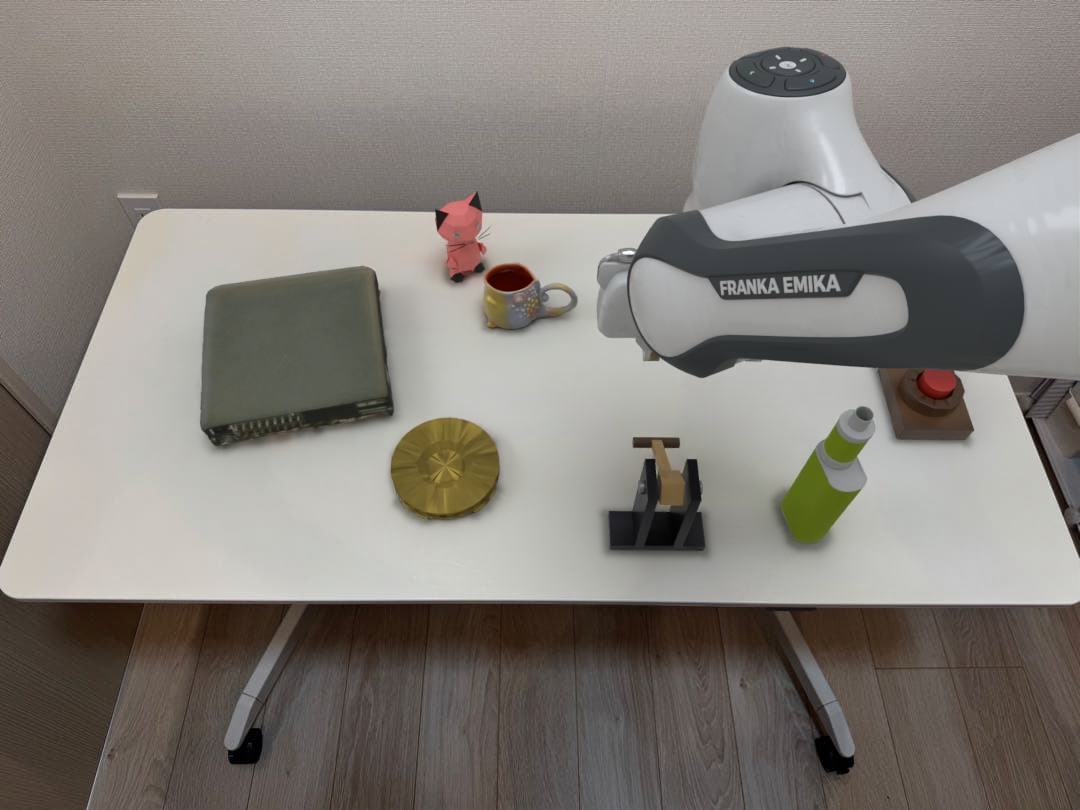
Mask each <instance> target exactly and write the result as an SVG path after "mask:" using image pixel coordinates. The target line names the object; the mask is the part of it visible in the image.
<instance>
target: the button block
mask: <svg viewBox="0 0 1080 810" xmlns="http://www.w3.org/2000/svg"><path fill="white" fill-rule="evenodd" d="M925 370H926V369H900V368H877V372H878V375H879V379H880V382H881V387H882V389H883V393H884V397H885V401H886V405H887V408H888V411H889V414H890V419H891V422H892V427H893V430H894V433H895V436H896V439H897V440H949V441H950V440H953V441H954V440H955V441H958V440H959V441H960V440H967V439H968V438H970V436H971V435H972V433H974V431H975V428H974V425H973V422H972V419H971V416H970V414H969V410H968V408H967V404H966V401H965V399H964V395H965V393H966V391H965V388H964V384H963V381H962V379H961V378H960V377H959V376H958V375H957V374H956V371H951V372H952V373H953V374H954V376H955V378H956V386H955V387H954V389H953V390H952V391H951V392H950V394H949V395H948V396H947V397H945V398H943V399H932V398H929V397H927V396H925V395H924V394H923V393H922V392H921V391H920V389H919V387H918V379H919V378H920V376H921V375H922V374H923V372H924V371H925Z"/></svg>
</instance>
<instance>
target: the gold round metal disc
mask: <svg viewBox="0 0 1080 810" xmlns="http://www.w3.org/2000/svg"><path fill="white" fill-rule="evenodd" d="M389 471H390V477H391V481H392V485H393V487H394V490H395V492H396V494H397V496H398V498H399V499H400V501H401V504H402V505H403V506H404V507H405V508H406V509H407V510H408V511H409V512H410V513H412V514H414V515H415V516H417V517H419V518H422V519H423V520H426V521H429V519H435V520H451V519H456V518H460V517H463V516H466V515H468V514H470V513H472V512H473V513H474V514H476V513H477V512H479V511H481V510H482V509H483V508H484V507H485V506H487V504H488V503H489V502H490V501H491V500H492V498H493V497H494V495H495V494H496V491H497V485H498V482H499V478H500V474H501V473H500V472H501V465H500V455H499V451H498V447H497V445H496V443H495V441H494V440H493V438H492V437H491V436H490V435H489V433H488V432H487V431H486V430H485V429H483V428H482V427H481V426H480V425H478V424H476V423H474V422H472V421H469V420H466V419H463V418H459V417H437V418H433V419H429V420H427V421H424V422H421V423H419V424H418V425H416V426H414V427H413V428H412V429H410V430H409V431H407V433H406V434H405V435H403V437H402V438H401V439H400V441H398V443H397V445H396V447H395V448H394V451H393V453H392V456H391V460H390V470H389Z"/></svg>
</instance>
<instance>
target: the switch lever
mask: <svg viewBox="0 0 1080 810" xmlns="http://www.w3.org/2000/svg"><path fill="white" fill-rule="evenodd" d="M631 441H632V446H631V447H632V448H633V449H651V453H652V455H653V458H655V462H656V470H657V471H656V474H657V486H658V498H659V500H658V503H659V506H671V505H681V506H682V505H683V500H684V489H685V482H684V480H683V477H682V471H681V470H680V469H672V465H671V463H670V460H669V457H668V455H667V450H666V449H680V448H681V439H680V437H679V436H678V437H677V436H675V437H674V436H673V437H672V436H671V437H670V436H666V437H665V436H632V440H631Z"/></svg>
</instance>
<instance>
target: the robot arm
mask: <svg viewBox="0 0 1080 810" xmlns="http://www.w3.org/2000/svg"><path fill="white" fill-rule="evenodd" d="M853 97H854V96H853V85H852V79H851V76H850V73H849V71H848V70H847V68H846V67H845V66H844V65H843V64H842V63H841V62H840V61H839V60H838V59H836V58H834V57H832V56H830V55H828V54H827V53H826V52H825V53H824V52H823V51H820V50H816V49H813V48H810V47H809V48H808V47H796V46H781V47H780V46H779V47H774V48H767V49H763V50H760V51H756V52H752V53H748V54H745V55H743V56H741V57H739V58H738V59H735V60H733V61H732V62H731V63H729V65H728V66H727V67H726V68H725V70H724V71H723V73H722V74H721V75H720V77H719V79H718V81H717V83H716V84H715V87H714V89H713V91H712V93H711V96H710V99H709V101H708V104H707V107H706V110H705V113H704V117H703V120H702V123H701V126H700V130H699V133H698V138H697V141H696V146H695V151H694V156H693V160H692V164H691V165H692V166H691V182H692V189H691V192H690V193H689V195H688V196H687V199H686V200H685V203H684V205H683V208H682V212H678V213H674V214H669V215H665V216H664V215H663V216H660V217H658V218H656V219H655V221H654V222H653V223H652V225H651V226H650V228H649V229H648V231H647V232H646V234H645V235H644V236H643V238H642V240H641V242H640V244H639V245H638V247H637V248H635V247H622V248H619V249H618V250H617V252H614V253H610V254H608V255H606V256H603V257H602V258H601V259H600V260H599V262H598V265H597V270H596V271H597V272H596V281H597V283H598V285H599V290H598V294H597V298H596V324H597V330H598V331H599V332H600V334H602V335H603V336H604V337H606V338H608V339H635V344H637V345H638V347H640V349H641V350H642V351H641V352H642V361H643V362H660V361H661V360H662V361H664V362H666V363H667V364H668V365H670V366H672V367H673V368H675V369H677V370H679V371H682V372H684V373H686V374H689V375H691V376H693V377H697V378H699V379H705V378H708V377H710V376H713V375H715V374H718V373H721V372H723V371H727V370H729V369H731V368H734V367H735V366H736V365H737V364H740V363H743V362H746V363H747V362H750V363H761V362H763V361H771V362H773V361H774V362H786V363H797V364H810V365H811V364H813V365H823V366H824V365H825V366H839V367H850V368H852V367H853V368H868V369H869V368H870V369H878V368H900V369H929V370H947V371H954V372H961V373H973V374H984V375H998V376H1015V377H1029V378H1030V377H1031V378H1042V379H1044V378H1045V379H1054V380H1055V379H1056V380H1066V381H1077V382H1080V132H1078V133H1076V134H1073V135H1071V136H1067V137H1065V138H1064V139H1061V140H1059V141H1057V142H1054V143H1052V144H1050V145H1048V146H1045V147H1043V148H1040V149H1038V150H1035V151H1033V152H1031V153H1028V154H1026V155H1023V156H1022V157H1019V158H1017V159H1013V160H1012V161H1010V162H1007V163H1005V164H1002V165H1000V166H998V167H995V168H993V169H991V170H988V171H986V172H984V173H981V174H978V175H977V176H974V177H972V178H970V179H967V180H964V181H962V182H960V183H958V184H956V185H953V186H951V187H948V188H946V189H943V190H941V191H938V192H936V193H934V194H931V195H928V196H926V197H924V198H921V199H919V200H917V198H916V196H915V195H914V194H913V193H912V192H911V191H910V189H909V188H908V187H907V186H906V185H905V184H904V183H903V182H902V181H901V180H899V179H898V178H897V177H896V176H895V175H894V174H893V173H891V172H890V171H889V170H888V169H886V168H885V167H884V166H883V165H882V164H880V163H879V162H878V161H877V159H876V157H875V155H874V154H873V152H872V150H871V149H870V147H869V145H868V142H866V139H865V137H864V136H863V133H862V132H861V129H860V127H859V124H858V122H857V118H856V114H855V109H854V99H853Z"/></svg>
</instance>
